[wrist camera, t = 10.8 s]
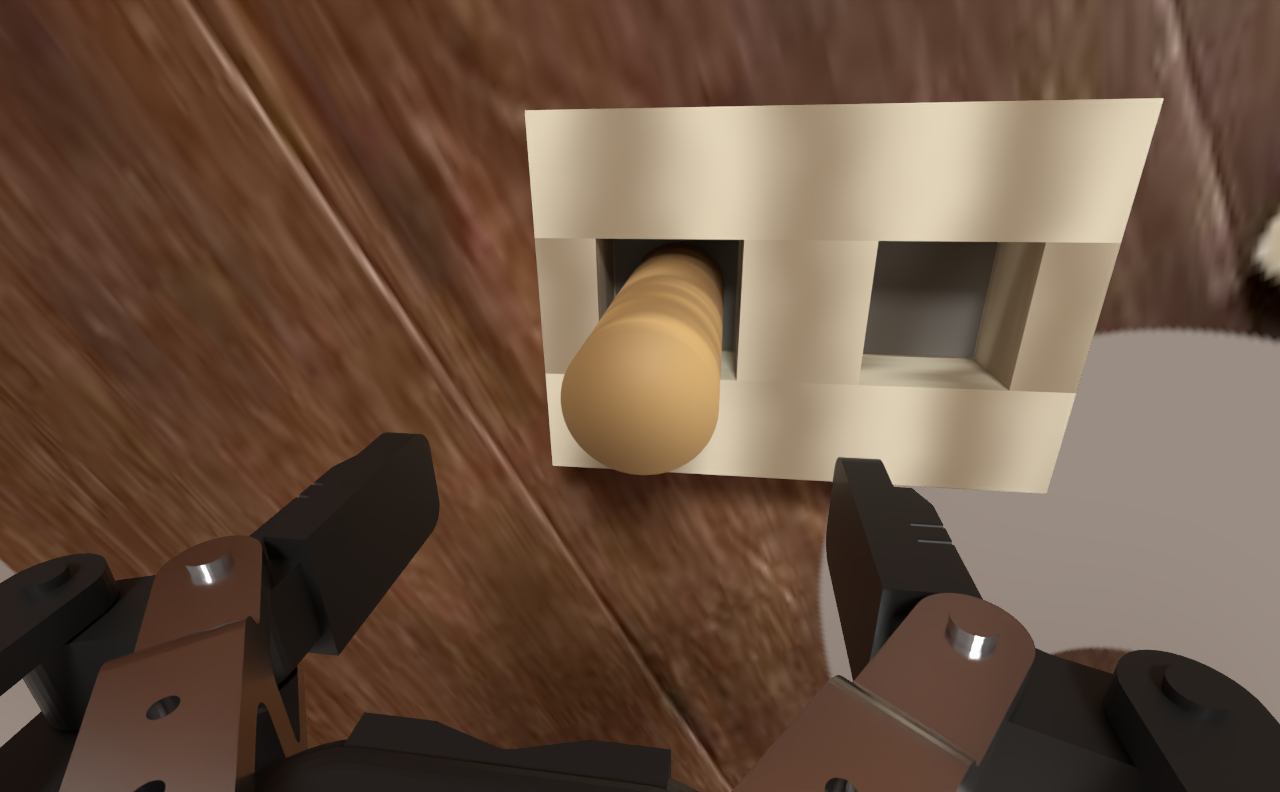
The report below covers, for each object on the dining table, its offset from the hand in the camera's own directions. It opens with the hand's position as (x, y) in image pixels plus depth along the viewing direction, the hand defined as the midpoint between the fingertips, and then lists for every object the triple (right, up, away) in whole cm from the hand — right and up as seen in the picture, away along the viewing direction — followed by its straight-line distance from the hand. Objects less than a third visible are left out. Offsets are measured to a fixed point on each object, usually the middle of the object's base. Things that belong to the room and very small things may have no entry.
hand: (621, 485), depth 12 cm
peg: (+2, +6, +14) cm, 16 cm away
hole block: (+7, +7, +15) cm, 17 cm away
